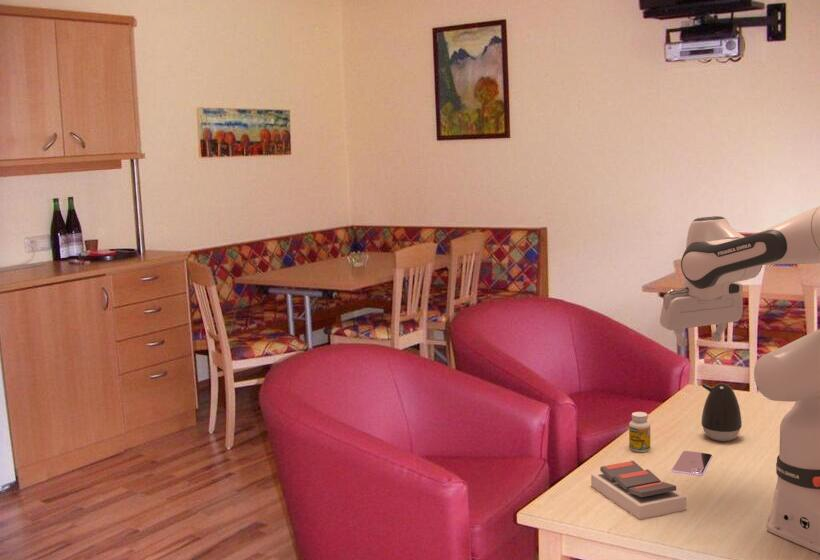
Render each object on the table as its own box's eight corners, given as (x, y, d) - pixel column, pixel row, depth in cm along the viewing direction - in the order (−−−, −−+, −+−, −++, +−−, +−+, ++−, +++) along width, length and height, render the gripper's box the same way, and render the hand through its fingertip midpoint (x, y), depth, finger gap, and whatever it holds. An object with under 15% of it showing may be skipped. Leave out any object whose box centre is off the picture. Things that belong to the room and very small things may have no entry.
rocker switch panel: (686, 509, 201) (686, 496, 200) (639, 519, 197) (639, 505, 196) (634, 478, 219) (634, 465, 219) (591, 486, 215) (591, 473, 215)
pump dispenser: (708, 429, 251) (709, 376, 249) (746, 436, 245) (748, 381, 242) (694, 439, 243) (695, 385, 241) (733, 447, 237) (734, 391, 234)
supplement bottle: (652, 447, 239) (652, 412, 237) (647, 454, 234) (647, 418, 233) (632, 444, 242) (632, 409, 240) (626, 451, 237) (626, 415, 235)
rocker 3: (676, 490, 201) (676, 485, 201) (641, 497, 198) (641, 492, 198) (663, 486, 206) (662, 481, 206) (628, 492, 203) (628, 487, 203)
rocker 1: (645, 475, 212) (645, 471, 212) (611, 481, 209) (611, 477, 209) (633, 464, 217) (633, 460, 216) (600, 470, 214) (600, 466, 213)
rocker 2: (660, 484, 207) (660, 480, 206) (626, 490, 204) (626, 486, 203) (647, 473, 211) (648, 469, 211) (614, 479, 208) (614, 475, 208)
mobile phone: (713, 453, 232) (702, 474, 219) (713, 457, 232) (702, 477, 219) (682, 449, 235) (670, 469, 222) (682, 452, 235) (670, 473, 222)
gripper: (672, 293, 201) (668, 352, 205) (749, 284, 208) (743, 342, 212) (656, 286, 207) (652, 344, 211) (731, 278, 214) (726, 334, 217)
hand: (699, 343), depth 211 cm, fingers open, 8 cm apart
